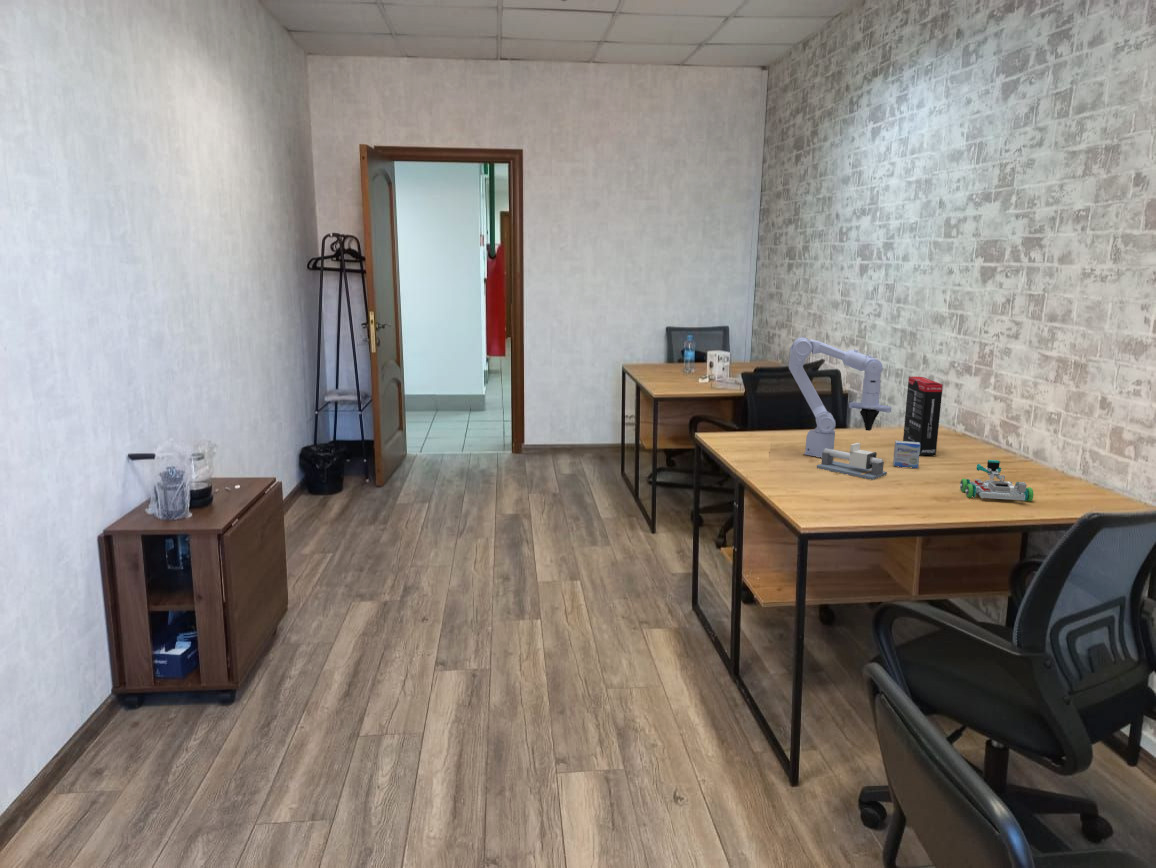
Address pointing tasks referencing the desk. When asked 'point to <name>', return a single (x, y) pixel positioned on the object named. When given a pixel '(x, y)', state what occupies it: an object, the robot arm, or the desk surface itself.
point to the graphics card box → (923, 413)
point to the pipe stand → (850, 470)
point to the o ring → (869, 460)
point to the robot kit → (995, 485)
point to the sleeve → (858, 456)
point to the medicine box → (906, 454)
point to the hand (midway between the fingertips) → (868, 430)
